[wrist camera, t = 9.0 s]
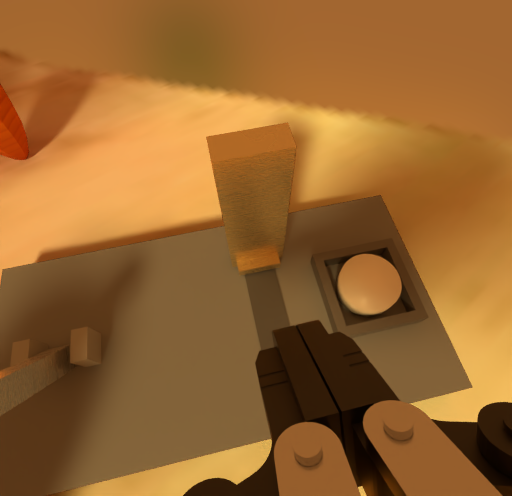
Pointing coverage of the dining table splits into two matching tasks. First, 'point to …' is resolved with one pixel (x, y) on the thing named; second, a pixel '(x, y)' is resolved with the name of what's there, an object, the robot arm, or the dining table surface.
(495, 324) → the dining table surface
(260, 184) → the block
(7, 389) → the toggle lever
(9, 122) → the carrot
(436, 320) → the switch panel
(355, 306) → the push button
